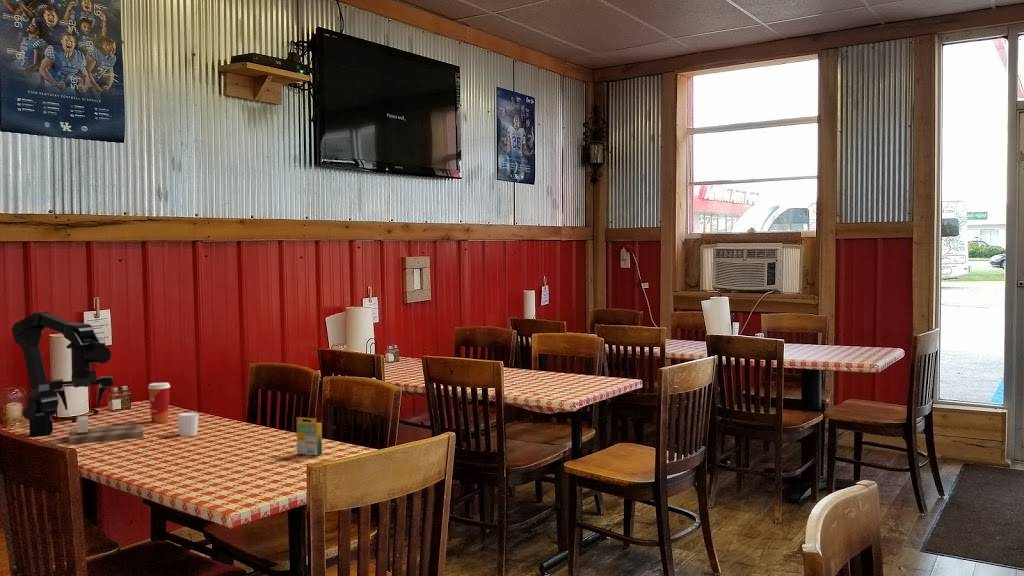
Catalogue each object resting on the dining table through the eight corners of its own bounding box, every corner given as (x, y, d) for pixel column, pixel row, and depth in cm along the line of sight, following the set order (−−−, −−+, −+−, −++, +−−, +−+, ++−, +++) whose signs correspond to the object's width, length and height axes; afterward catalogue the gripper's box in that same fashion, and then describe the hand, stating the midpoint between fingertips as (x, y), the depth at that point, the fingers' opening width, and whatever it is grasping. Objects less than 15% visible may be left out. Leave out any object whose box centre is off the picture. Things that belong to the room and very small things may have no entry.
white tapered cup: (202, 432, 282) (202, 412, 282) (193, 436, 275) (192, 416, 275) (183, 431, 283) (183, 411, 283) (173, 436, 276) (173, 415, 276)
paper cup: (149, 420, 303) (149, 382, 303) (172, 418, 306) (171, 381, 305) (147, 424, 296) (146, 386, 295) (170, 422, 298) (169, 384, 298)
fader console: (68, 444, 264) (68, 438, 264) (69, 436, 277) (69, 429, 277) (143, 437, 275) (143, 431, 274) (140, 429, 287) (140, 423, 287)
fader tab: (77, 434, 269) (77, 420, 269) (77, 430, 274) (77, 417, 274) (87, 433, 270) (87, 419, 270) (87, 429, 276) (87, 416, 276)
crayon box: (322, 454, 251) (322, 416, 250) (317, 456, 248) (316, 418, 247) (302, 452, 253) (301, 415, 253) (296, 454, 250) (296, 417, 250)
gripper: (48, 366, 260) (49, 415, 261) (113, 363, 269) (114, 410, 269) (49, 362, 270) (50, 409, 271) (112, 359, 279) (113, 404, 279)
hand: (82, 408), depth 272 cm, fingers open, 9 cm apart
